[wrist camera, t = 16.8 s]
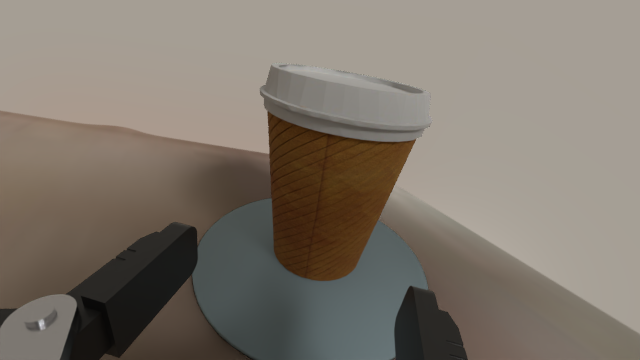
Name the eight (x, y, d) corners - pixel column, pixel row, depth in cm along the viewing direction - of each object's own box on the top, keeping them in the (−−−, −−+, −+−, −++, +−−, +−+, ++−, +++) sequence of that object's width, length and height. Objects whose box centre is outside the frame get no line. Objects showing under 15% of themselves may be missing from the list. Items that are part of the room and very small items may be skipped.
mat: (440, 246, 23) (441, 244, 23) (392, 468, 10) (394, 465, 10) (287, 182, 29) (287, 180, 29) (132, 269, 16) (131, 265, 16)
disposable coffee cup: (309, 201, 26) (332, 67, 21) (401, 253, 21) (461, 95, 16) (221, 243, 19) (221, 55, 14) (328, 336, 14) (393, 100, 9)
